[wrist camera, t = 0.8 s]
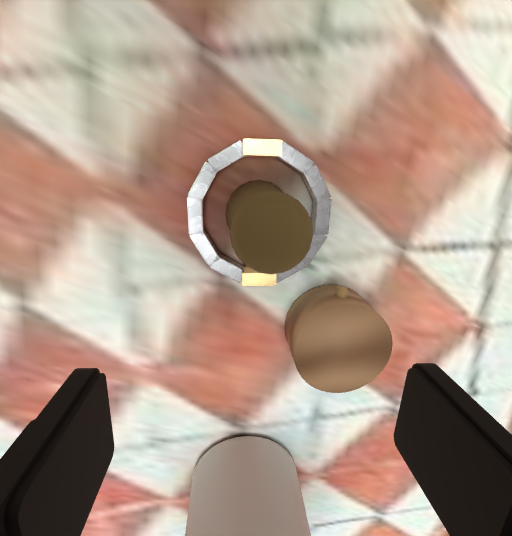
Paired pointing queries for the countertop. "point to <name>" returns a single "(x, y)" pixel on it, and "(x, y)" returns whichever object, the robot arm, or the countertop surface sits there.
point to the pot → (337, 339)
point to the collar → (230, 156)
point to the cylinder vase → (246, 491)
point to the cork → (268, 227)
